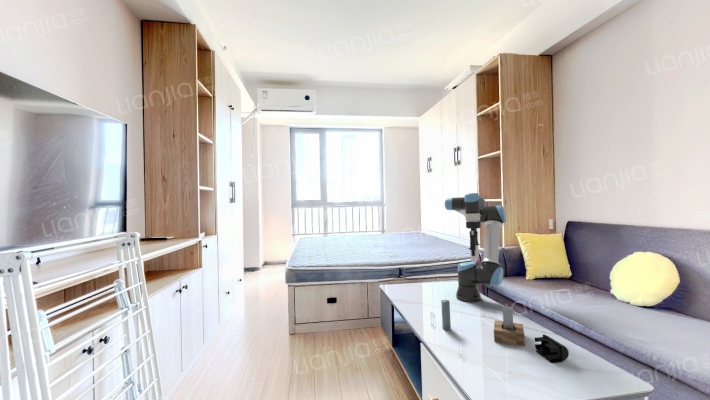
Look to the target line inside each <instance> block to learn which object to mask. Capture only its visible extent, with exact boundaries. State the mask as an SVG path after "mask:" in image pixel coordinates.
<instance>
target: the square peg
mask: <svg viewBox="0 0 710 400" xmlns="http://www.w3.org/2000/svg"><path fill="white" fill-rule="evenodd" d="M502 322H503V325H504V329H507V330H514V329H513V323H514V313H513V306H506V305H502Z"/></svg>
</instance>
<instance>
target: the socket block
mask: <svg viewBox="0 0 710 400" xmlns="http://www.w3.org/2000/svg"><path fill="white" fill-rule="evenodd" d="M493 322H494V323H493V340H494V342H495V343H500V344H507V345H514V346H518V347H526V344H525V343H526V341H525V330H524V324H523V323H517V322H513V329H514V330H507V329H504V325H503V320H494V321H493Z"/></svg>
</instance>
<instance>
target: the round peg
mask: <svg viewBox="0 0 710 400" xmlns="http://www.w3.org/2000/svg"><path fill="white" fill-rule="evenodd" d="M440 301H441V303H440V304H441V318H442V319H441V321H442V323H441V324H442V330H443V331H451V328H452V325H451V306H450V305H451V304H450V300H449V299H442V300H440Z"/></svg>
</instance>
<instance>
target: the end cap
mask: <svg viewBox="0 0 710 400" xmlns="http://www.w3.org/2000/svg"><path fill="white" fill-rule="evenodd" d="M534 342H535V344H534V348H535V352H536V354H538V355H539V356H541V357H542V358H544V359H545V360H546V361H548V362H549V363H550V364H558V363H562V362H564V361H566V360H567V359H568V357H569V355H570V354H569V349H568V348H567V346H565V345H563V344H562V343H561V342H558V341H557V340H556V339H554V338H552V337H550V336H549V335H548V334H542V336H537V337H534ZM537 342H538V344H537Z"/></svg>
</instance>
